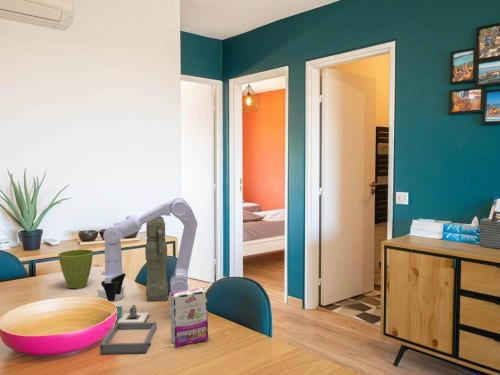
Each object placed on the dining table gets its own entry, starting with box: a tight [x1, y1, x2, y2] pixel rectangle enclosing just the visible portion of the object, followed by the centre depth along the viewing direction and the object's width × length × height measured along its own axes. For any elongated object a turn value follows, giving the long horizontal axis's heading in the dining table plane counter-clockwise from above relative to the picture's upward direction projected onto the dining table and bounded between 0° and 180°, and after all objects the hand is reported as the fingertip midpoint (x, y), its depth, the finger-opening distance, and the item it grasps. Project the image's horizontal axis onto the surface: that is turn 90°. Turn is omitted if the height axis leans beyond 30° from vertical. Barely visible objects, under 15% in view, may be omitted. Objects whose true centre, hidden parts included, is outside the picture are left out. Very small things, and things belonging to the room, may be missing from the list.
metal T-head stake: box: [129, 304, 138, 320], centre depth 153 cm, size 2×4×5 cm, turn 2°
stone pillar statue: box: [144, 216, 169, 303], centre depth 177 cm, size 9×12×35 cm
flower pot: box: [57, 249, 94, 289], centre depth 198 cm, size 15×15×16 cm
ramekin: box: [96, 283, 126, 302], centre depth 181 cm, size 11×11×5 cm
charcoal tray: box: [99, 321, 157, 355], centre depth 137 cm, size 14×17×3 cm
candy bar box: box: [169, 287, 209, 348], centre depth 137 cm, size 11×5×16 cm, turn 117°
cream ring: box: [115, 305, 149, 323], centre depth 153 cm, size 12×9×5 cm
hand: (114, 297), depth 153 cm, fingers open, 7 cm apart
